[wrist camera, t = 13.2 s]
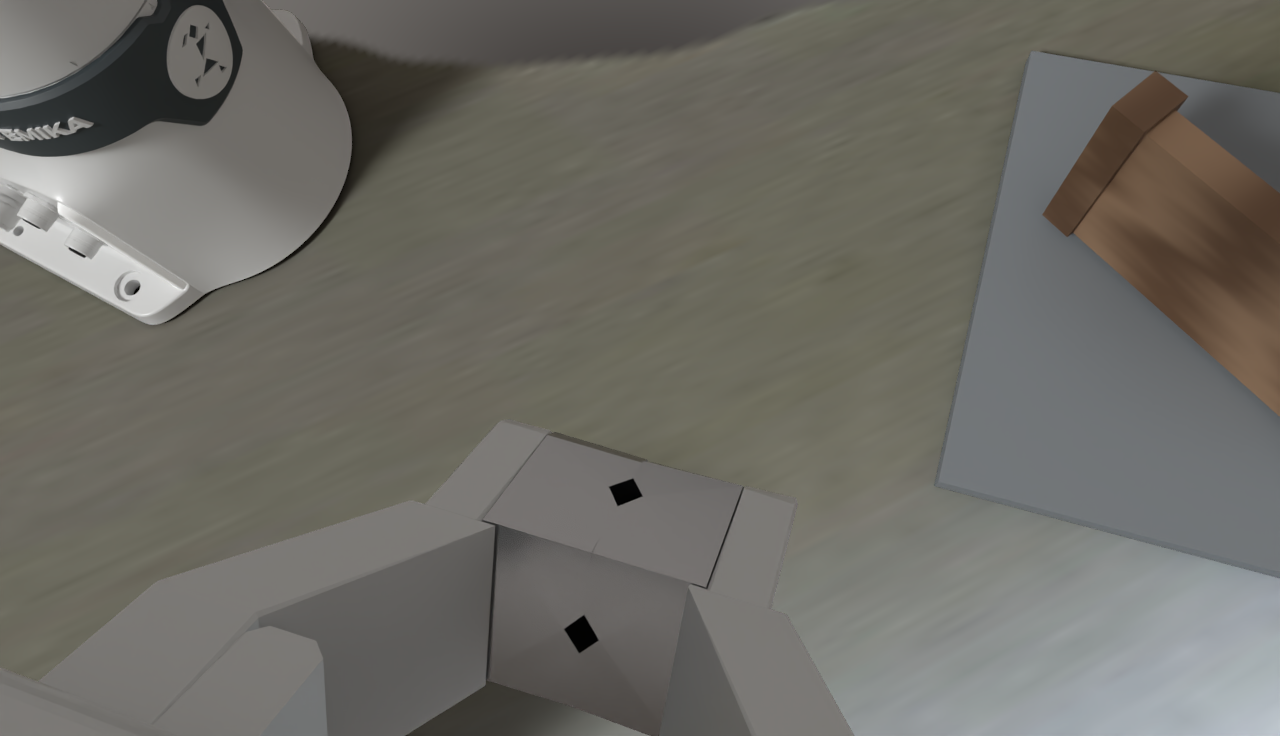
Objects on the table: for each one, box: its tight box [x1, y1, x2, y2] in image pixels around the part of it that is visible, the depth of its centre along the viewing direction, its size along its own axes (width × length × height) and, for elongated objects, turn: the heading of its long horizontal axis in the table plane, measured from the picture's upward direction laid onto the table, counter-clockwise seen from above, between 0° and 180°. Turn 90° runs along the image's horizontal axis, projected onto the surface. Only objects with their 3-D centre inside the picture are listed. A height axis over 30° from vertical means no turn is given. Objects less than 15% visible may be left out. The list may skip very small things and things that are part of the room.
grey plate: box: [934, 51, 1280, 578], centre depth 41 cm, size 14×22×1 cm, turn 163°
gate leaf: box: [1042, 71, 1280, 416], centre depth 35 cm, size 15×2×8 cm, turn 38°
